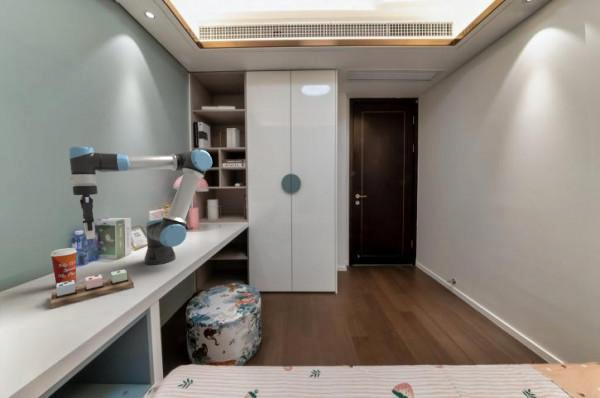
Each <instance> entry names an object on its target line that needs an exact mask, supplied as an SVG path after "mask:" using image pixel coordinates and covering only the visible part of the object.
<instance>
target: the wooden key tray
mask: <svg viewBox="0 0 600 398" xmlns="http://www.w3.org/2000/svg"><path fill="white" fill-rule="evenodd" d="M102 282H103V285H102V286H98V287H94V288H90V289H87V288H86V284H83V285H78V286H75V292H73V293H68V294H64V295H60V296H57V290H55V291H52V292H51V298H50V309H56V308H60V307H65V306H68V305H71V304H76V303H80V302H83V301H87V300H91V299H95V298H100V297H103V296H107V295H110V294H114V293H118V292H123V291H127V290H129V289H134V288H135V284H134V282H133V279H132V278H131V277H130V276H129V275H128V274H127V280H124V281H119V282H115V283H113V282H112V280H111V278H110V279H105V280H102Z"/></svg>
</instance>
